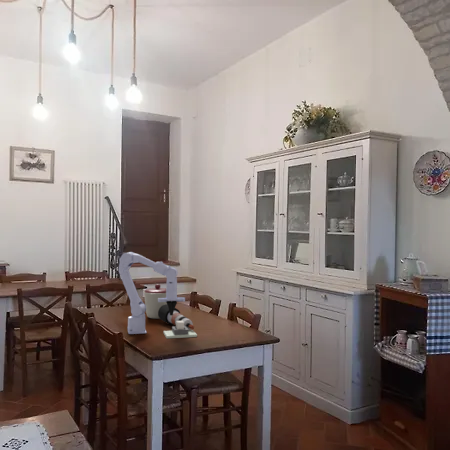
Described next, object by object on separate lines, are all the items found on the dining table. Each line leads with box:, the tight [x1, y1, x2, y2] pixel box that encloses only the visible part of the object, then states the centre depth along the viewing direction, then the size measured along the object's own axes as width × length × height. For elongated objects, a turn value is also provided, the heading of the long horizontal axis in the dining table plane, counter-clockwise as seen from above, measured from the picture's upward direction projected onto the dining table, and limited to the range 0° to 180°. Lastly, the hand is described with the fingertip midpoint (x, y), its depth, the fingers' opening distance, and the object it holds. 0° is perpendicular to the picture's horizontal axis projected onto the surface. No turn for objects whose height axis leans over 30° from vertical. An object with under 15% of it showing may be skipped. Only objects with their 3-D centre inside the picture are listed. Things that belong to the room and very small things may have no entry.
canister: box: [142, 283, 171, 320], centre depth 300 cm, size 18×18×21 cm
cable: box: [158, 304, 195, 330], centre depth 271 cm, size 10×34×10 cm, turn 31°
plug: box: [175, 321, 184, 330], centre depth 253 cm, size 4×5×6 cm
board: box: [163, 325, 198, 339], centre depth 253 cm, size 16×12×4 cm
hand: (171, 315), depth 257 cm, fingers closed
